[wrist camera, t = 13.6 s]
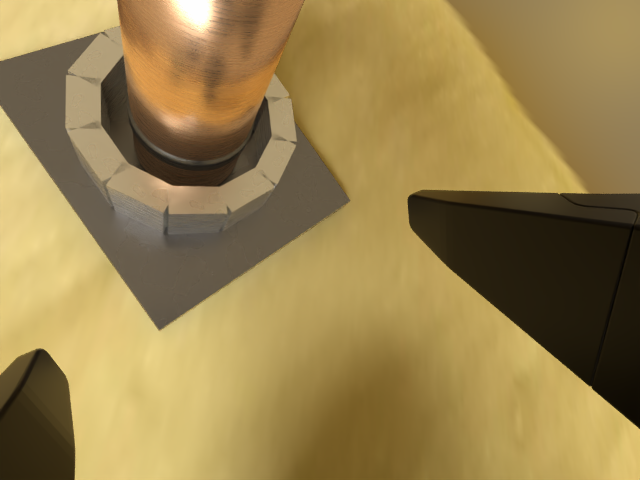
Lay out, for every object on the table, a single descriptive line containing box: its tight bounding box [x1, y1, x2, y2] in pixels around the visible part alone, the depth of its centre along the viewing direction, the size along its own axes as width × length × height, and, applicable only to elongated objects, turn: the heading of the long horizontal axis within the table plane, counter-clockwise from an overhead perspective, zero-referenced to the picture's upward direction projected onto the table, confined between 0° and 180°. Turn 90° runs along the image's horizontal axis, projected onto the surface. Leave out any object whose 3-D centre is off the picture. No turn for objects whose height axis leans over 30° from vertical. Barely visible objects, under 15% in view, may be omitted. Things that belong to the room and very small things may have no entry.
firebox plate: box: [0, 26, 350, 331], centre depth 19 cm, size 14×12×4 cm
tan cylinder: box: [117, 0, 304, 187], centre depth 14 cm, size 5×5×12 cm
